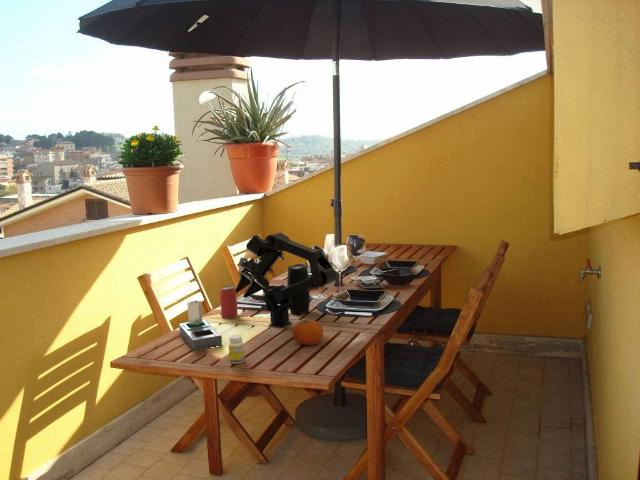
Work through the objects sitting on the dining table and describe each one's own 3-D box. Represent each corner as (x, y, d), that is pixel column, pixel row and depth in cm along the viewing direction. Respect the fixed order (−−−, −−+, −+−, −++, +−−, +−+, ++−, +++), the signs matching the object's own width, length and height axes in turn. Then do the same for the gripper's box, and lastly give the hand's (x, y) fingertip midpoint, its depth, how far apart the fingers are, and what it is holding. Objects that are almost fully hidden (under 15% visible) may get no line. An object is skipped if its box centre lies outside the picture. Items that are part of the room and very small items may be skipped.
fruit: (327, 339, 223) (326, 318, 222) (317, 349, 213) (316, 327, 212) (299, 337, 227) (298, 316, 225) (288, 347, 217) (287, 325, 216)
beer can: (234, 318, 253) (232, 289, 251) (219, 318, 255) (217, 289, 253) (239, 314, 260) (238, 285, 258) (224, 313, 261) (222, 285, 259)
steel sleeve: (206, 335, 234) (204, 301, 232) (196, 338, 230) (194, 304, 228) (196, 333, 237) (194, 299, 235) (187, 336, 233) (184, 302, 230)
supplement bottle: (230, 359, 208) (228, 334, 206) (244, 358, 208) (243, 333, 207) (229, 364, 203) (227, 339, 202) (244, 363, 203) (242, 338, 202)
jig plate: (222, 346, 221) (221, 334, 220) (194, 351, 217) (193, 339, 216) (205, 329, 241) (205, 318, 240) (179, 334, 236) (178, 322, 236)
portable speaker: (286, 315, 255) (283, 268, 252) (293, 308, 264) (291, 263, 261) (306, 316, 253) (304, 268, 249) (313, 309, 262) (310, 263, 258)
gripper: (242, 245, 244) (216, 277, 241) (259, 253, 228) (232, 287, 225) (262, 263, 249) (237, 294, 246) (280, 271, 233) (254, 305, 230)
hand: (239, 294), depth 237 cm, fingers open, 9 cm apart
